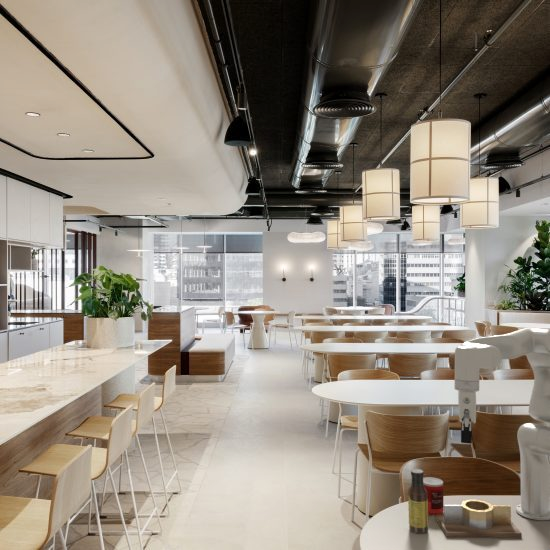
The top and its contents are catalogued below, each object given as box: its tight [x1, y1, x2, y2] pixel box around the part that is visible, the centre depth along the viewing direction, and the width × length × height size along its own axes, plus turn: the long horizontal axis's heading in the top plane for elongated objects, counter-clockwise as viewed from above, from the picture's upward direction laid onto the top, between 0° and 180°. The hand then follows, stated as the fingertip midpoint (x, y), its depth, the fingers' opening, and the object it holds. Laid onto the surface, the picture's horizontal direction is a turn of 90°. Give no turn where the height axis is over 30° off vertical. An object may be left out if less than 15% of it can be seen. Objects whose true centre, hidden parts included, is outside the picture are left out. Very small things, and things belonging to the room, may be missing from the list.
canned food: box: [423, 476, 444, 516], centre depth 208 cm, size 8×8×11 cm
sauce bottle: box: [407, 468, 429, 535], centre depth 193 cm, size 6×6×20 cm
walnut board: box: [435, 513, 523, 539], centre depth 194 cm, size 14×24×2 cm, turn 88°
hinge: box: [443, 499, 512, 530], centre depth 194 cm, size 10×22×6 cm, turn 88°
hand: (466, 438), depth 185 cm, fingers open, 9 cm apart
